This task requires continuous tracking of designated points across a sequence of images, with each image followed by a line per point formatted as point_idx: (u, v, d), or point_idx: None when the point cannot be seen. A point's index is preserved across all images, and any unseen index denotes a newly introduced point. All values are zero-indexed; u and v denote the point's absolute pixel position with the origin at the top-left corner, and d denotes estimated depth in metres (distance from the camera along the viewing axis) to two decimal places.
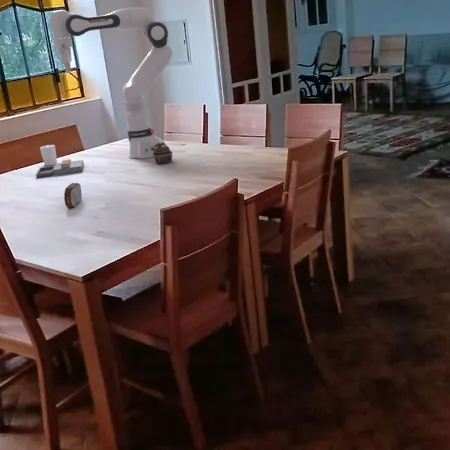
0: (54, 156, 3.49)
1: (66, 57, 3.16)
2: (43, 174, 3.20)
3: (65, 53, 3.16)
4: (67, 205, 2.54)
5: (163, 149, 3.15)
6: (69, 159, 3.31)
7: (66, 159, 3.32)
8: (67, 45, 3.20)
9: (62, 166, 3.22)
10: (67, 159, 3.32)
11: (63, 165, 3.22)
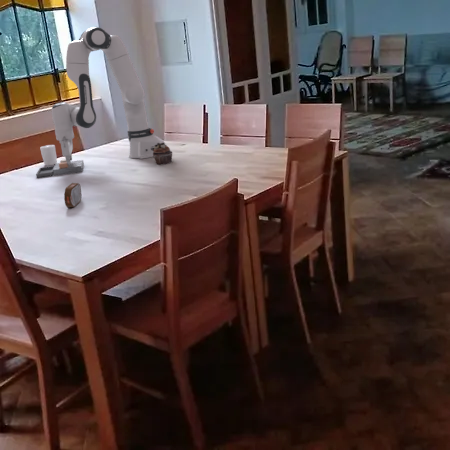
0: (54, 156, 3.49)
1: (67, 150, 3.16)
2: (43, 174, 3.20)
3: (66, 146, 3.16)
4: (67, 205, 2.54)
5: (163, 149, 3.15)
6: None
7: (64, 159, 3.32)
8: (68, 137, 3.21)
9: (60, 166, 3.22)
10: (65, 159, 3.32)
11: (61, 166, 3.22)
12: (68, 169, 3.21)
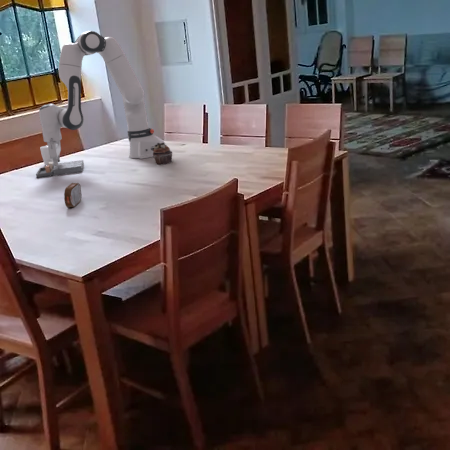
0: None
1: (55, 152, 3.16)
2: (43, 174, 3.20)
3: (54, 148, 3.15)
4: (67, 205, 2.54)
5: (163, 149, 3.15)
6: (48, 163, 3.30)
7: None
8: (56, 139, 3.20)
9: None
10: None
11: None
12: (68, 169, 3.21)
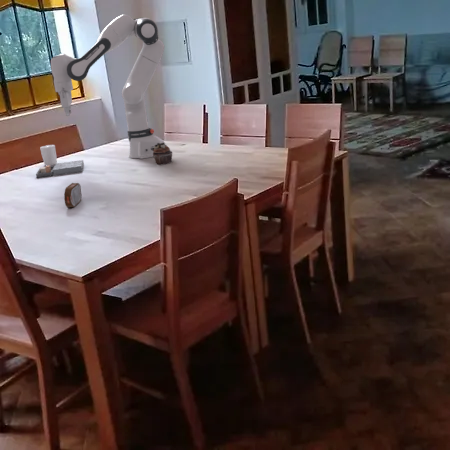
0: (54, 156, 3.49)
1: (66, 101, 3.18)
2: (43, 174, 3.20)
3: (65, 97, 3.18)
4: (67, 205, 2.54)
5: (163, 149, 3.15)
6: None
7: None
8: (67, 88, 3.23)
9: None
10: None
11: None
12: (68, 169, 3.21)
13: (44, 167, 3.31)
